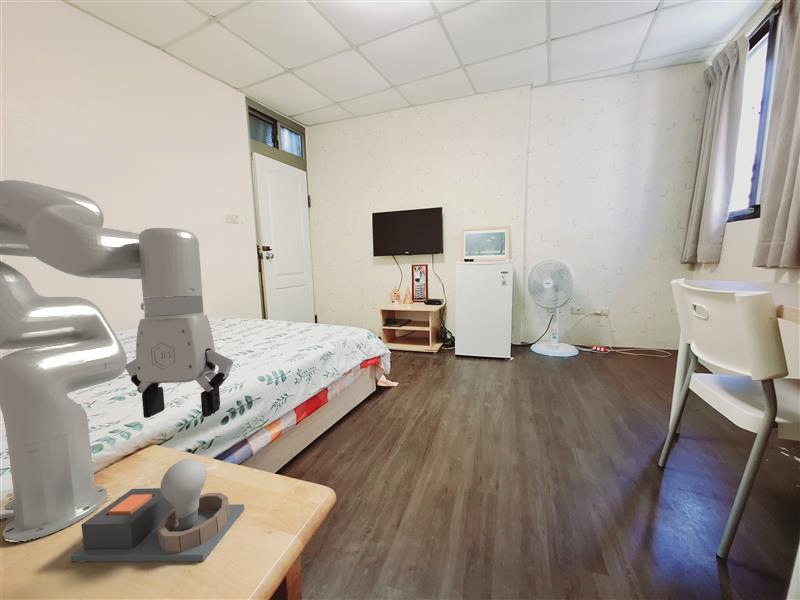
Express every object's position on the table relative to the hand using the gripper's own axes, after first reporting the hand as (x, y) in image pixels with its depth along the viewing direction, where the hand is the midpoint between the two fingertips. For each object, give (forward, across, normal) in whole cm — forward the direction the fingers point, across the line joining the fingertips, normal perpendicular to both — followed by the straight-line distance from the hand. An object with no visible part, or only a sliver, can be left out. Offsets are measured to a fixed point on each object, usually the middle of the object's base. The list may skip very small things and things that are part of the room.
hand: (182, 413), depth 48 cm
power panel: (+20, -4, 0) cm, 21 cm away
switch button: (+19, -10, 0) cm, 21 cm away
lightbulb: (+19, 0, 0) cm, 19 cm away
